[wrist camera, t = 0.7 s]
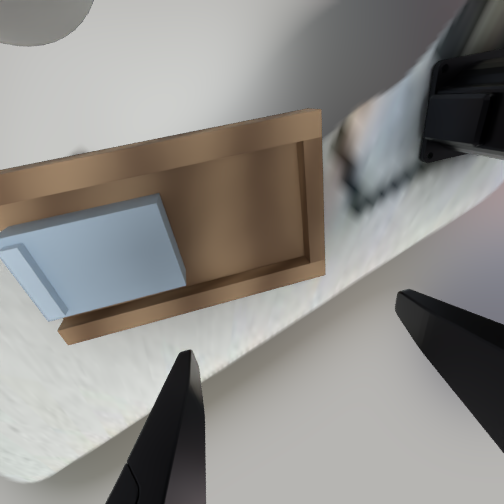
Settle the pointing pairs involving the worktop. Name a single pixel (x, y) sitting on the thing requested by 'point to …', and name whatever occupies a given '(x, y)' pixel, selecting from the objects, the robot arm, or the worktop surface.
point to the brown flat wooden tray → (196, 210)
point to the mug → (40, 20)
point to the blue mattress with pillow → (94, 256)
